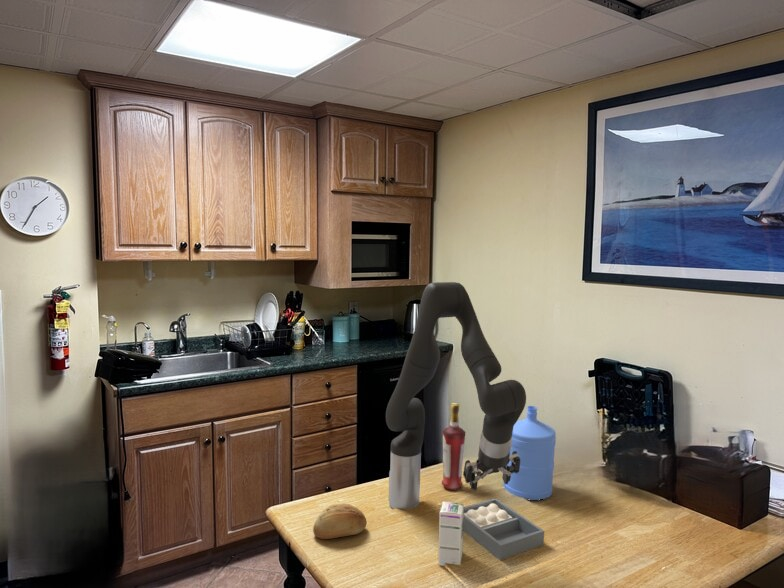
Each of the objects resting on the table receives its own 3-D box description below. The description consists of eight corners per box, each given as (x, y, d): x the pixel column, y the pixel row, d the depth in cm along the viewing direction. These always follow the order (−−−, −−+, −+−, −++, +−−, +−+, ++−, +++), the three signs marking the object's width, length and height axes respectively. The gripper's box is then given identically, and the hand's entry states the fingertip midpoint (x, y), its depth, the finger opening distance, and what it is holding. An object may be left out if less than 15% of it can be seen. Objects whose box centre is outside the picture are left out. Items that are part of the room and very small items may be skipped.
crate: (453, 526, 158) (454, 509, 158) (494, 513, 166) (495, 498, 165) (499, 563, 141) (500, 545, 140) (543, 548, 148) (544, 530, 148)
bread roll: (371, 539, 151) (372, 511, 150) (317, 548, 146) (317, 519, 145) (361, 521, 160) (362, 495, 159) (310, 529, 155) (310, 502, 154)
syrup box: (460, 568, 139) (463, 514, 137) (437, 565, 140) (439, 511, 138) (462, 555, 144) (464, 503, 142) (439, 552, 145) (441, 500, 143)
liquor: (438, 481, 185) (441, 401, 182) (460, 481, 186) (463, 400, 183) (443, 492, 178) (446, 408, 175) (465, 491, 179) (469, 408, 175)
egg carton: (461, 523, 158) (462, 508, 157) (493, 514, 163) (494, 499, 163) (479, 537, 151) (480, 521, 150) (511, 527, 156) (512, 512, 156)
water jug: (558, 502, 173) (563, 416, 170) (508, 501, 173) (512, 415, 170) (545, 479, 189) (550, 400, 185) (499, 478, 189) (503, 399, 185)
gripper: (516, 427, 139) (509, 467, 148) (462, 437, 136) (458, 477, 146) (529, 451, 133) (520, 491, 142) (472, 462, 131) (467, 502, 140)
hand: (489, 484), depth 144 cm, fingers open, 8 cm apart
